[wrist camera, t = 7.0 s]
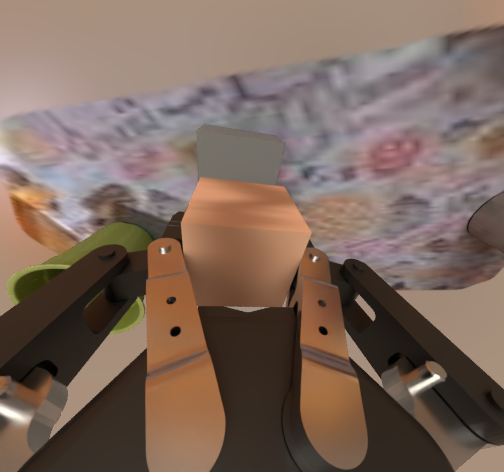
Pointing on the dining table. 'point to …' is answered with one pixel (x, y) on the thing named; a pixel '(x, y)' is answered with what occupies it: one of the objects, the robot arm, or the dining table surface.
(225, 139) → the grey base block
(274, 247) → the terracotta cube
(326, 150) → the dining table surface
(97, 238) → the plant pot
